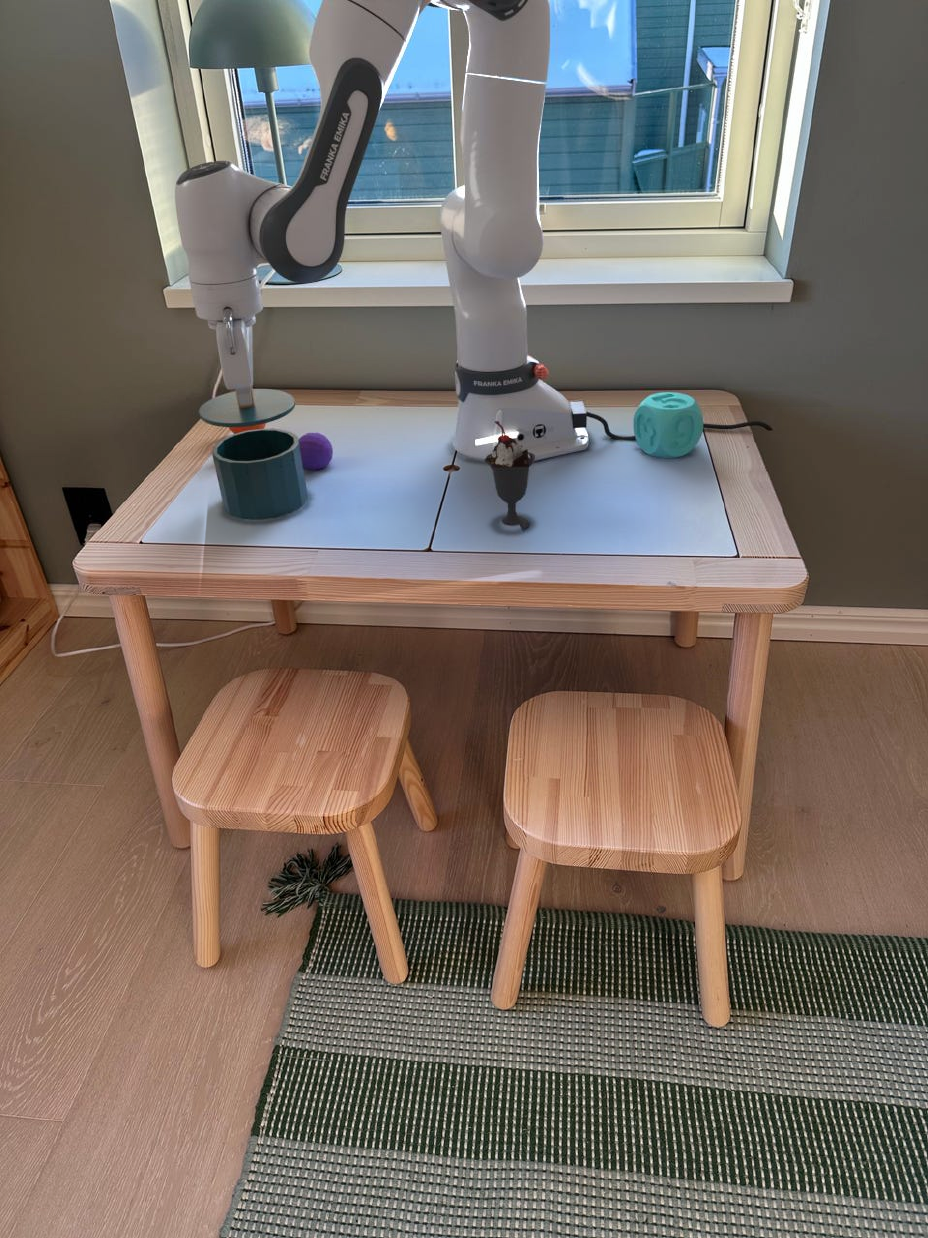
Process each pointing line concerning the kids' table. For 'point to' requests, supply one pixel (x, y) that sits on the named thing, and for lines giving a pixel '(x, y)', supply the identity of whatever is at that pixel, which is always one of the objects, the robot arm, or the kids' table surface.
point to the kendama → (315, 451)
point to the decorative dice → (668, 424)
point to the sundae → (510, 475)
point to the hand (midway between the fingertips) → (246, 399)
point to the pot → (260, 473)
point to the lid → (247, 408)
